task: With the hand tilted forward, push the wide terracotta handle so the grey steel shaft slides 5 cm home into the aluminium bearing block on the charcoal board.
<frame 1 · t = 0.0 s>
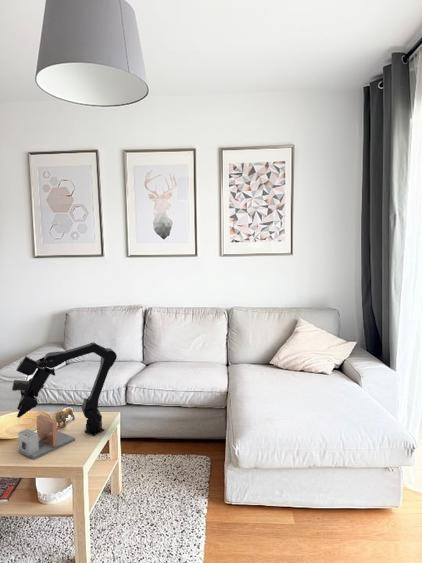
hand: (18, 413, 159), 15 cm above the table, tool tilted 35°, fingers open, 9 cm apart
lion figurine: (65, 424, 182), on the table
base board: (47, 445, 161), on the table
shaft: (39, 433, 158), point 7 cm above the table, slide at 0.0 cm
bearing block: (28, 454, 154), resting on base board
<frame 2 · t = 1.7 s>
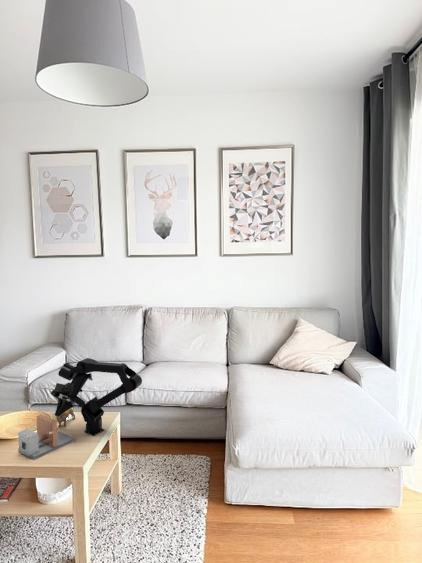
hand: (56, 415, 164), 12 cm above the table, tool tilted 45°, fingers closed
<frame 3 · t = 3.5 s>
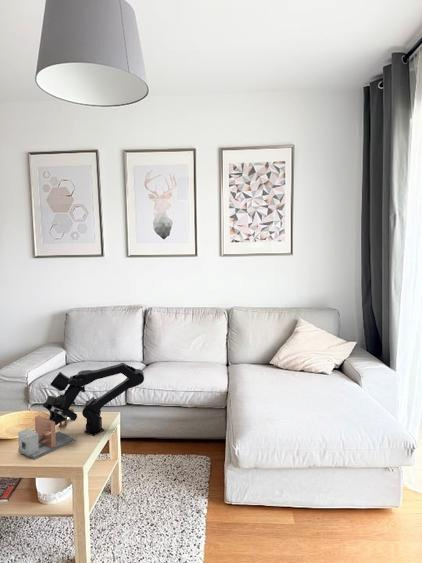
hand: (47, 429, 161), 7 cm above the table, tool tilted 45°, fingers closed, pressing on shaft
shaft: (37, 434, 157), point 7 cm above the table, slide at 0.8 cm, touching gripper
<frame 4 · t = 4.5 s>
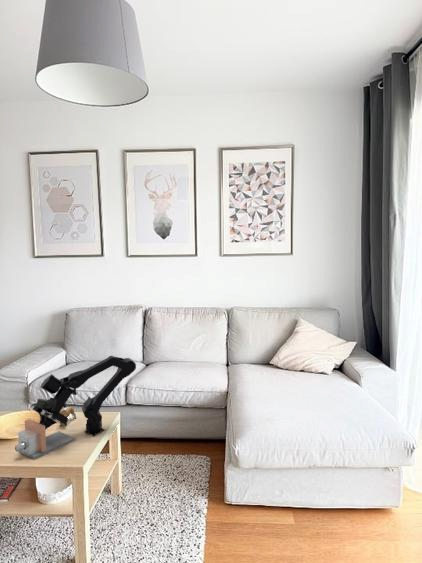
hand: (37, 433, 158), 7 cm above the table, tool tilted 45°, fingers closed, pressing on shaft
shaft: (27, 438, 154), point 7 cm above the table, slide at 5.3 cm, touching bearing block, gripper
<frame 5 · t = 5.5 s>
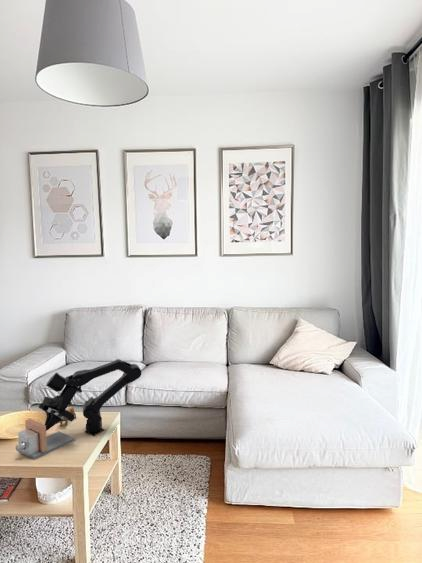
hand: (44, 430, 160), 7 cm above the table, tool tilted 45°, fingers closed
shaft: (27, 438, 154), point 7 cm above the table, slide at 5.0 cm
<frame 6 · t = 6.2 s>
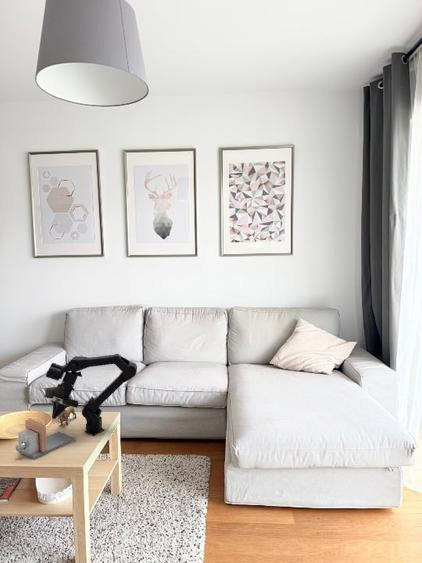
hand: (53, 418, 165), 10 cm above the table, tool tilted 30°, fingers closed
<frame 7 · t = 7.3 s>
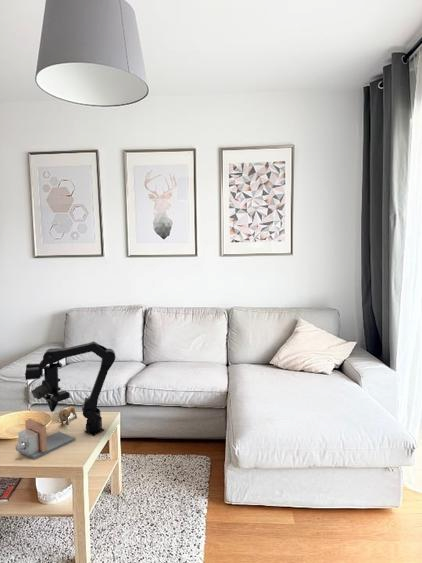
hand: (52, 411, 168), 12 cm above the table, tool pointing down, fingers closed
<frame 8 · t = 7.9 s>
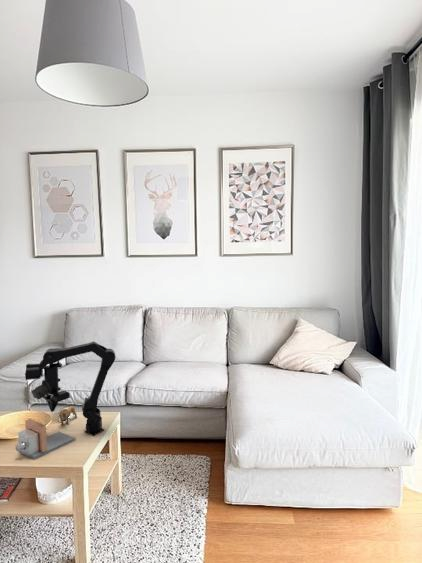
hand: (52, 411, 168), 12 cm above the table, tool pointing down, fingers closed
at the end: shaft slide at 5.0 cm; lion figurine moved 2.5 cm from its start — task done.
